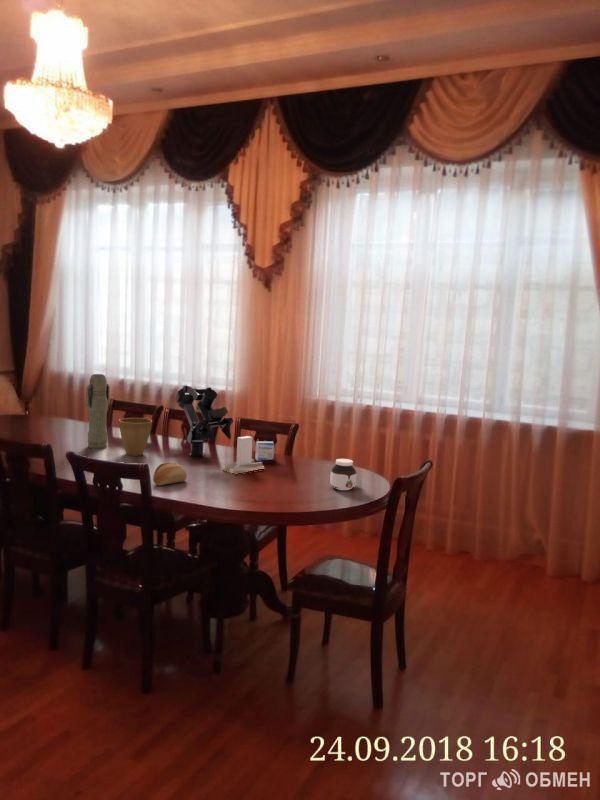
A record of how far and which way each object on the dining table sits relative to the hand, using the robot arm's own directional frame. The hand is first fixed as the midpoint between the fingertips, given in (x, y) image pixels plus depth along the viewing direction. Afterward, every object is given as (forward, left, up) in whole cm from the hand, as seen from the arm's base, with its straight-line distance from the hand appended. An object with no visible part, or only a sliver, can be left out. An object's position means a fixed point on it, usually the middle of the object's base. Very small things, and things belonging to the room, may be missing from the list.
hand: (222, 440), depth 278 cm
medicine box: (-14, +18, -11) cm, 25 cm away
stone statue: (-21, -63, -11) cm, 67 cm away
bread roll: (+34, -16, -12) cm, 40 cm away
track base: (+7, +11, -11) cm, 17 cm away
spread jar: (+26, +53, -11) cm, 60 cm away
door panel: (+7, +11, -10) cm, 16 cm away
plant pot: (-11, -42, -11) cm, 45 cm away
